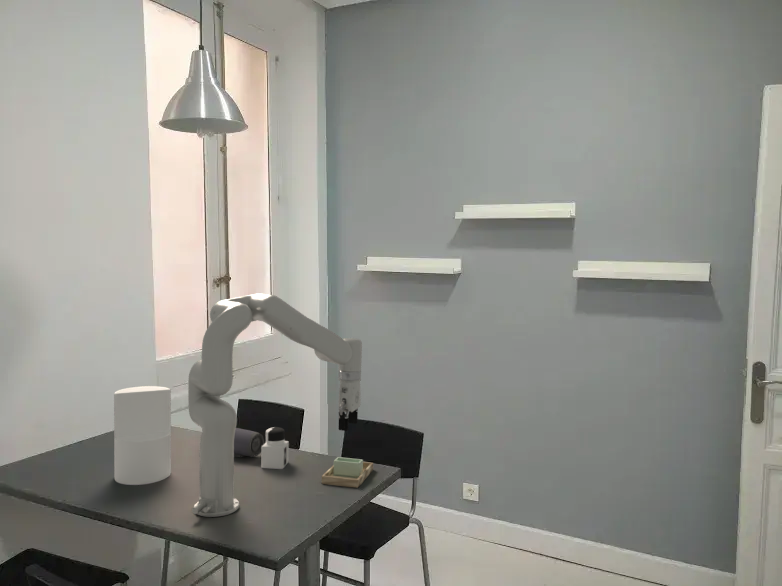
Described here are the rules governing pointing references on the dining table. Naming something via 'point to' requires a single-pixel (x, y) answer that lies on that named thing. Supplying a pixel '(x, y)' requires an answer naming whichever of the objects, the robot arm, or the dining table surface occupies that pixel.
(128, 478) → the cylinder
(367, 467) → the wooden tray
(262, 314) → the robot arm
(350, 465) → the small crate
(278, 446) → the container
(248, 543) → the dining table surface
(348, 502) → the dining table surface
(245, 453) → the bluetooth speaker
